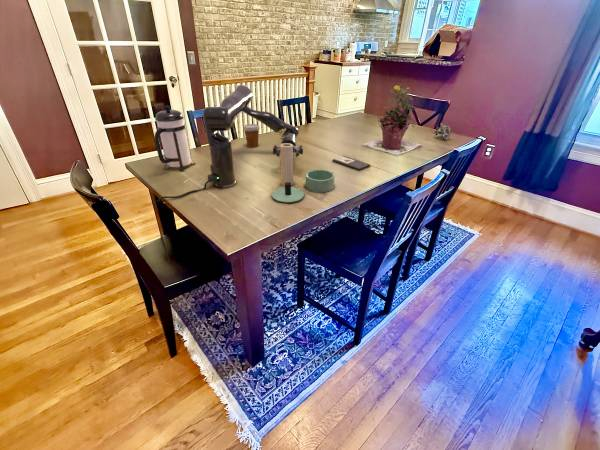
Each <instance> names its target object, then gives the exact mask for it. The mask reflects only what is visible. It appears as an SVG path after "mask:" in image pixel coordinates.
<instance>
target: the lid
mask: <svg viewBox="0 0 600 450" xmlns="http://www.w3.org/2000/svg"><path fill="white" fill-rule="evenodd" d="M271 197H272V199H274V200H275V201H277V202H279V203H296V202H299V201H300V200H303V199H304V197H305V192H304V191H303V190H302V189H300V188H298V187H297V188H296V187H294V186H291V183H290V182H286V183H285V186H283V187H279V188H277V189H274V190H273V191H272V193H271Z"/></svg>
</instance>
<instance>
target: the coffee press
mask: <svg viewBox="0 0 600 450" xmlns="http://www.w3.org/2000/svg"><path fill="white" fill-rule="evenodd" d="M184 118H185V116H184V114H182V112H181V111H180V110H178V109H177V110H176V109H171V107H170V105H168V104H166V105H164V110H161V111H158V112H157V113H156V114H155V117H154V120H155V122H156V125H157V126H156V128H157V130H156V131H155V133H154V144H155V148H156V151H157V156H158V158H159V161H160V162H161V163H162V164H165V165H164V169H165V170H168V169H169V168H170V167H171V168H179V169H180V171H181V172H184V171H185V168H184V167H187V166H188V165H190V164H191V165H193V166H195V164H196V161H194V160H193V159H192V153H191V149H190V143H189V138H188V133H187V129H186V123H185V120H184Z"/></svg>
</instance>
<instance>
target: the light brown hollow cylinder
mask: <svg viewBox="0 0 600 450" xmlns="http://www.w3.org/2000/svg"><path fill="white" fill-rule="evenodd" d="M279 147H280V155H279V156H280V181H281V186H283V187H285V183H286V182H290V183H291V187H293V185H294V154H293V145H292V144H290V143H284V144H280V145H279Z"/></svg>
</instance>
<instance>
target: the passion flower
mask: <svg viewBox="0 0 600 450" xmlns="http://www.w3.org/2000/svg"><path fill="white" fill-rule="evenodd" d="M451 132H452V129H451V126H450V125H445V124H443V123H442V122H440V127H439V126H437V127H436V128H435V130H434V132H433V133H432V135H434V139H435V137H436V136H438V135H440V137H441V138H442V140H444V141H448V138H450V137H451V136H450V135H451Z"/></svg>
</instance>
